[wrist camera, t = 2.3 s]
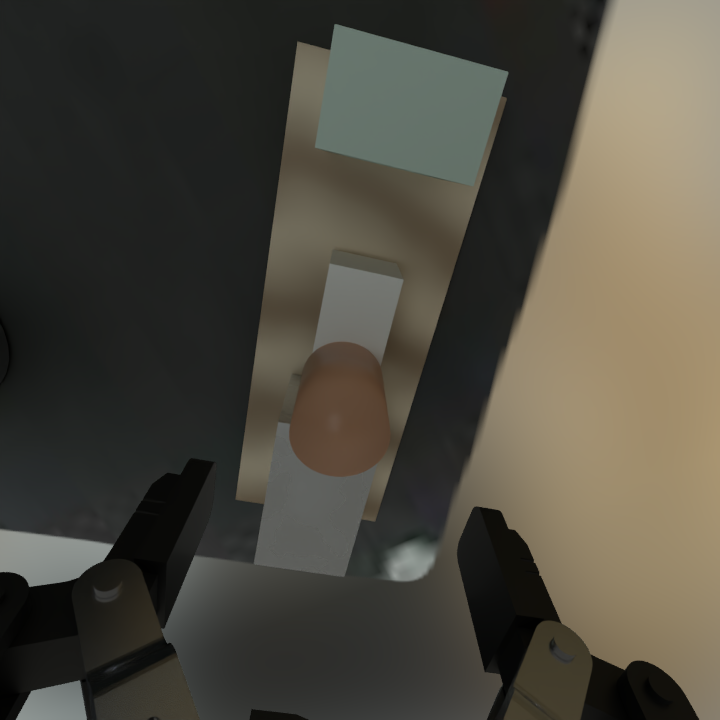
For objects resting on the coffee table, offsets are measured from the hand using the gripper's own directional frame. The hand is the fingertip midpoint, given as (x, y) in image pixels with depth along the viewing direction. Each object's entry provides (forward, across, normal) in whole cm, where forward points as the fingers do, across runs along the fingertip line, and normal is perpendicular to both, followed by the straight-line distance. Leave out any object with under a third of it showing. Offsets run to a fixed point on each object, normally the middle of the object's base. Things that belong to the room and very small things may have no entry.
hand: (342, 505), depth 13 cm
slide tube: (+12, 0, +3) cm, 13 cm away
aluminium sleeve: (+13, 0, +8) cm, 16 cm away
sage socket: (+14, 0, -11) cm, 18 cm away
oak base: (+14, 0, 0) cm, 14 cm away
